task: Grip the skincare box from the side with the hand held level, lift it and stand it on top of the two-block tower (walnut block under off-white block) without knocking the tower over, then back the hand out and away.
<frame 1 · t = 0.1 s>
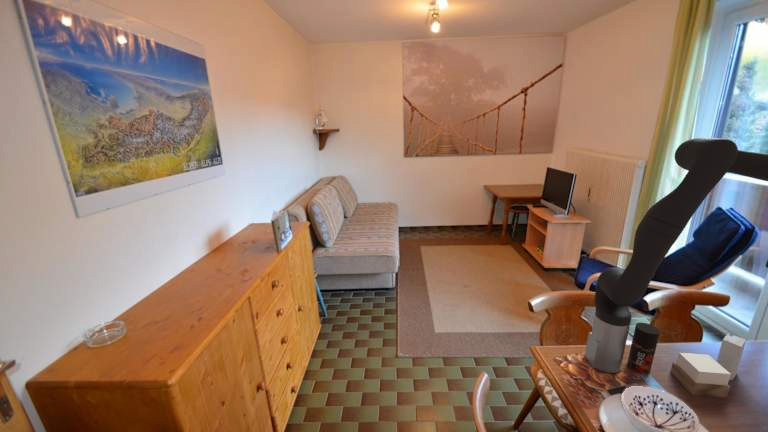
walnut block: (697, 384, 98), on the table
skincare box: (724, 373, 102), on the table
deodorant: (638, 368, 104), on the table
offwhite block: (700, 373, 97), point 4 cm above the table
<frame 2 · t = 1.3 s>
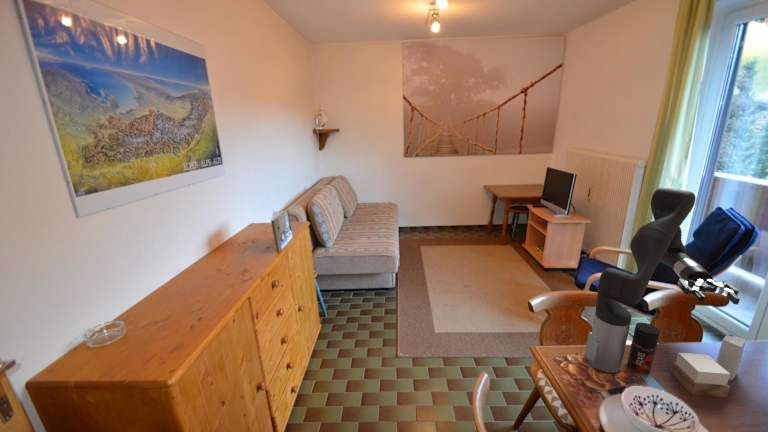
hand: (720, 301, 104), 21 cm above the table, tool horizontal, fingers open, 8 cm apart
walnut block: (696, 384, 98), on the table, touching offwhite block
offwhite block: (699, 373, 97), point 4 cm above the table, touching walnut block
everything else where it was.
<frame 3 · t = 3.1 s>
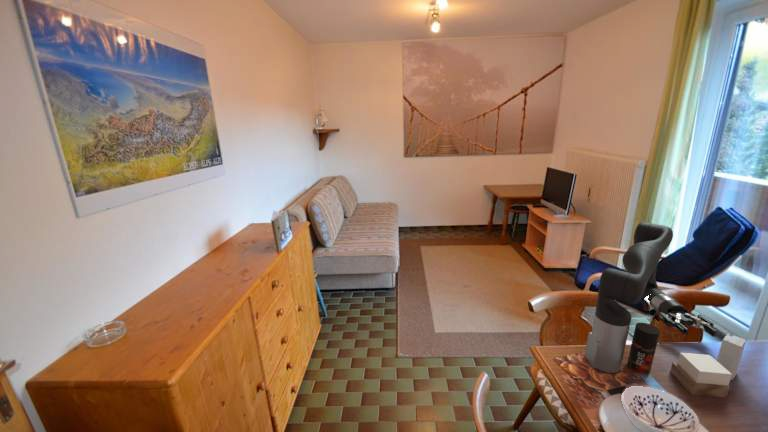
hand: (701, 333, 110), 7 cm above the table, tool horizontal, fingers open, 8 cm apart
nothing on the table moved.
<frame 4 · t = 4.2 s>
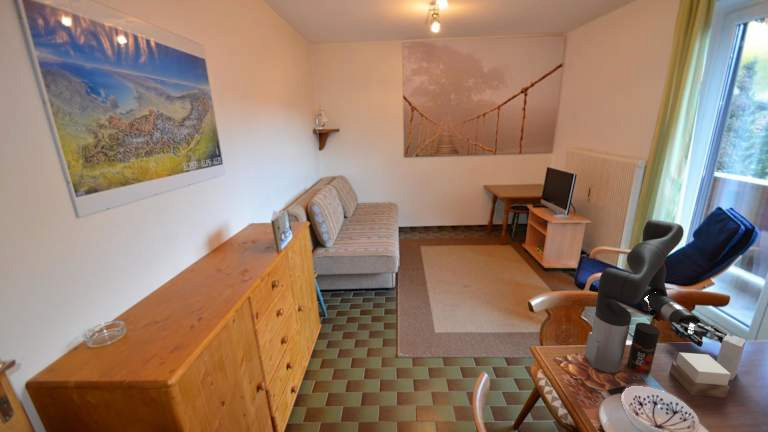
hand: (716, 345, 104), 6 cm above the table, tool horizontal, fingers open, 8 cm apart
nothing on the table moved.
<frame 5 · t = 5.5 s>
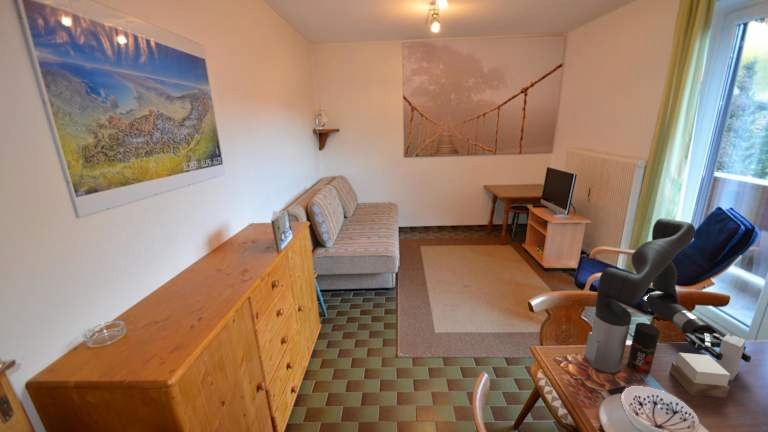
hand: (734, 358, 98), 7 cm above the table, tool horizontal, fingers closed on skincare box, 7 cm apart
skincare box: (724, 373, 102), on the table, touching gripper
everything else where it was.
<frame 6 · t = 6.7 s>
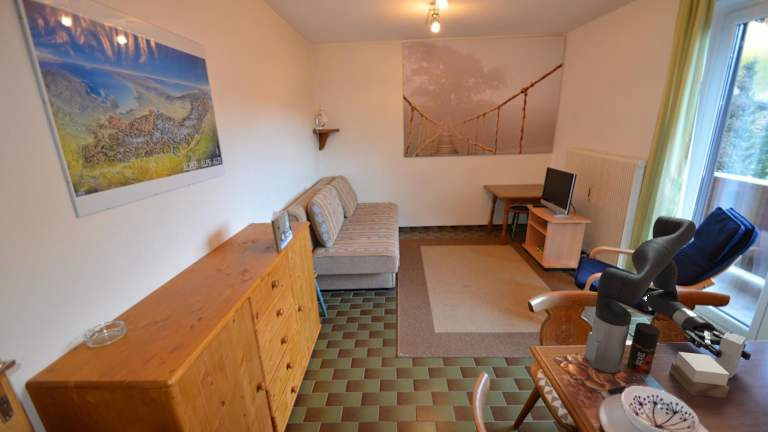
hand: (734, 356, 98), 8 cm above the table, tool horizontal, fingers closed on skincare box, 7 cm apart
walnut block: (696, 385, 98), on the table
skincare box: (723, 370, 101), point 1 cm above the table, touching gripper
offwhite block: (699, 373, 97), point 4 cm above the table
everything else where it was.
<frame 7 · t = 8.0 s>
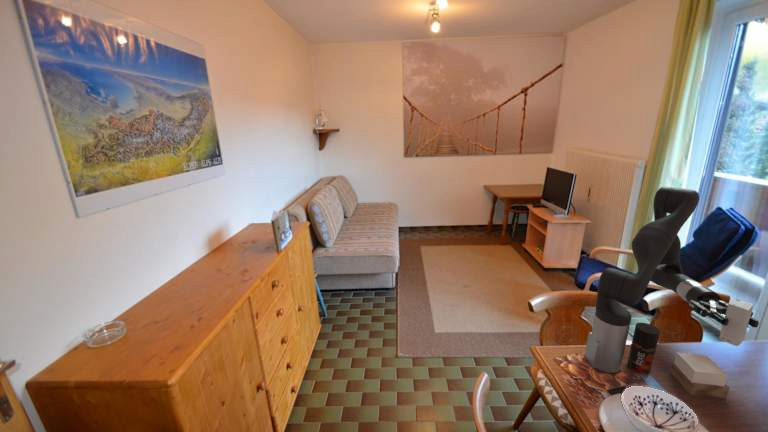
hand: (741, 323, 94), 20 cm above the table, tool horizontal, fingers closed on skincare box, 7 cm apart
walnut block: (696, 385, 98), on the table, touching offwhite block
skincare box: (730, 339, 97), point 13 cm above the table, touching gripper
offwhite block: (697, 374, 97), point 4 cm above the table, touching walnut block
everything else where it was.
when the fingers open (15 cm above the table, at t = 10.3 s): skincare box moves 2 cm, point 7 cm above the table.
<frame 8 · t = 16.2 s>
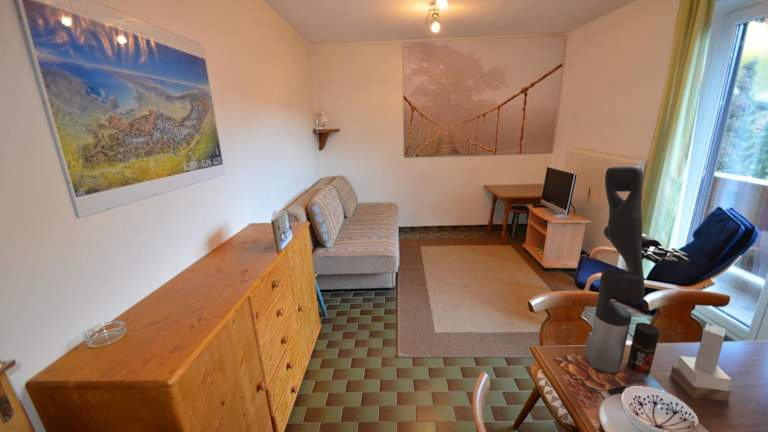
hand: (673, 262, 106), 32 cm above the table, tool horizontal, fingers open, 8 cm apart
walnut block: (697, 388, 97), on the table, touching offwhite block
skincare box: (704, 365, 95), point 7 cm above the table
offwhite block: (700, 378, 95), point 4 cm above the table, touching walnut block
everything else where it was.
at the end: skincare box 0.8 cm off-centre on the offwhite block, point 3.9 cm above the offwhite block's base; skincare box tilted 2°; offwhite block 0.4 cm off-centre on the walnut block, point 4.0 cm above the walnut block's base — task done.
